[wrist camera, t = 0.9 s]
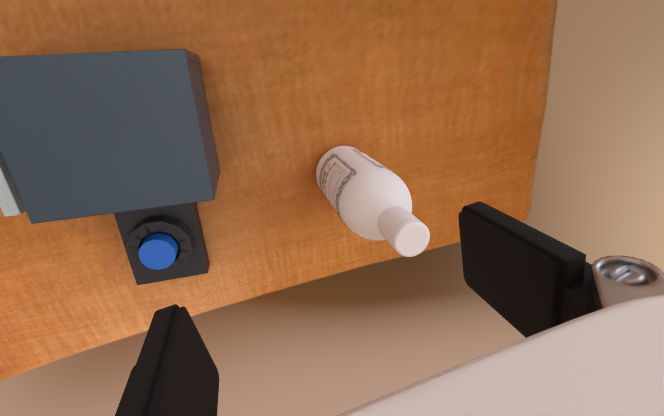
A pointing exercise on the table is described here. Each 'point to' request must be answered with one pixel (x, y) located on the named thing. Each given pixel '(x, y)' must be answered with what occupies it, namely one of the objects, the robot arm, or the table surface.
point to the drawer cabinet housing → (106, 132)
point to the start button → (158, 251)
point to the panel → (172, 222)
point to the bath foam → (371, 199)
